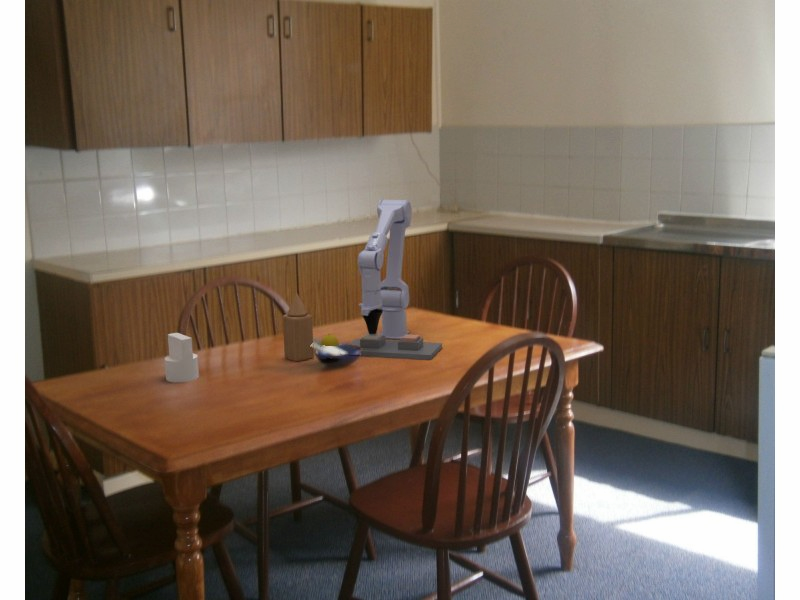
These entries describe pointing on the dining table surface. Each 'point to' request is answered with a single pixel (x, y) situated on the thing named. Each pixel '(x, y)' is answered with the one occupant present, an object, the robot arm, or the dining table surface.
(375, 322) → the robot arm
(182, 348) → the cylinder with rectangular tab
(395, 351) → the grey key base
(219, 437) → the dining table surface
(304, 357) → the decorative item
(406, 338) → the terracotta key
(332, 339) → the lemon
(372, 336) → the white key
